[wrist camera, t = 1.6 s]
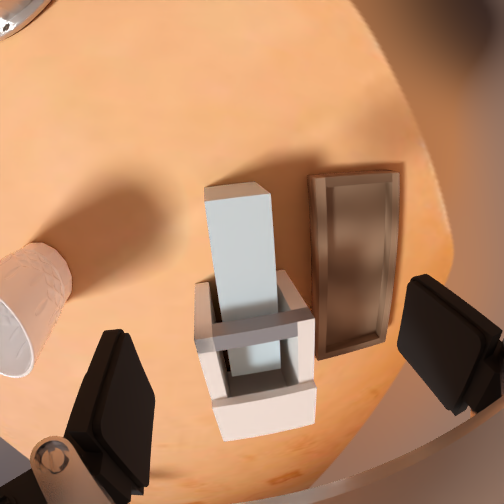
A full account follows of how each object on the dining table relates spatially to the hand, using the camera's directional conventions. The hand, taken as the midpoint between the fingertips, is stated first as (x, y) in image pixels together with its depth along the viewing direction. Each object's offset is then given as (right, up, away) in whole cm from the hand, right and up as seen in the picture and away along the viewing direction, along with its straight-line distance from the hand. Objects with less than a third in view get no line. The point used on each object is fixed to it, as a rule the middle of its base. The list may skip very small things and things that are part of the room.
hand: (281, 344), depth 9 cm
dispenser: (-1, -5, +19) cm, 20 cm away
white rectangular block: (-2, +2, +17) cm, 17 cm away
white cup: (-20, +1, +14) cm, 25 cm away
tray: (+8, +1, +19) cm, 20 cm away
